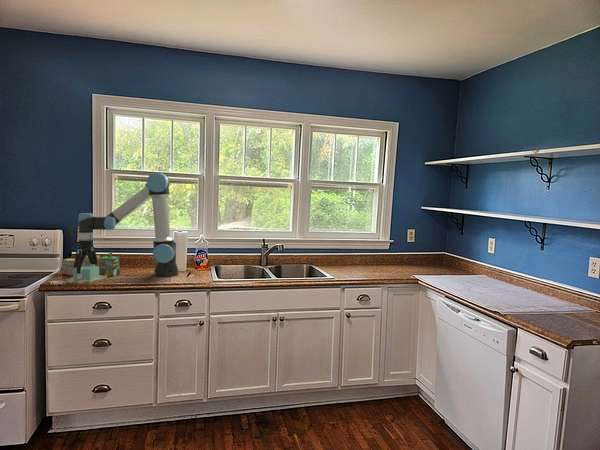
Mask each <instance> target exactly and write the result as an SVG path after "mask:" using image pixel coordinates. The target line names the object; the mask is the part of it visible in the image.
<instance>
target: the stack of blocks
mask: <svg viewBox="0 0 600 450" xmlns="http://www.w3.org/2000/svg"><path fill="white" fill-rule="evenodd" d="M96 256H97V261H98V262H97V264H95V266H99V258H101V255H97V254H96ZM74 262H75V258H65V259H62V260H61V266H62V269H61V270H62V275H69V276H73V269H74V268H75V267H74ZM90 264H91V263H90V261H89V258H88V256H86V257H85V258H84V261H83V264H82V266H90ZM79 266H80V265H79Z"/></svg>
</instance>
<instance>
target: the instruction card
mask: <svg viewBox="0 0 600 450" xmlns="http://www.w3.org/2000/svg"><path fill="white" fill-rule="evenodd" d="M50 282H51V283H50V284H49V285H58V284H59V283H60V284H61V283H62V284H61V285H64V284H68V283H67V282H64V280H51V281H50ZM52 282H53V284H52ZM45 283H46V282H45ZM45 283H44V285H46V284H45ZM63 283H64V284H63Z"/></svg>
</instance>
